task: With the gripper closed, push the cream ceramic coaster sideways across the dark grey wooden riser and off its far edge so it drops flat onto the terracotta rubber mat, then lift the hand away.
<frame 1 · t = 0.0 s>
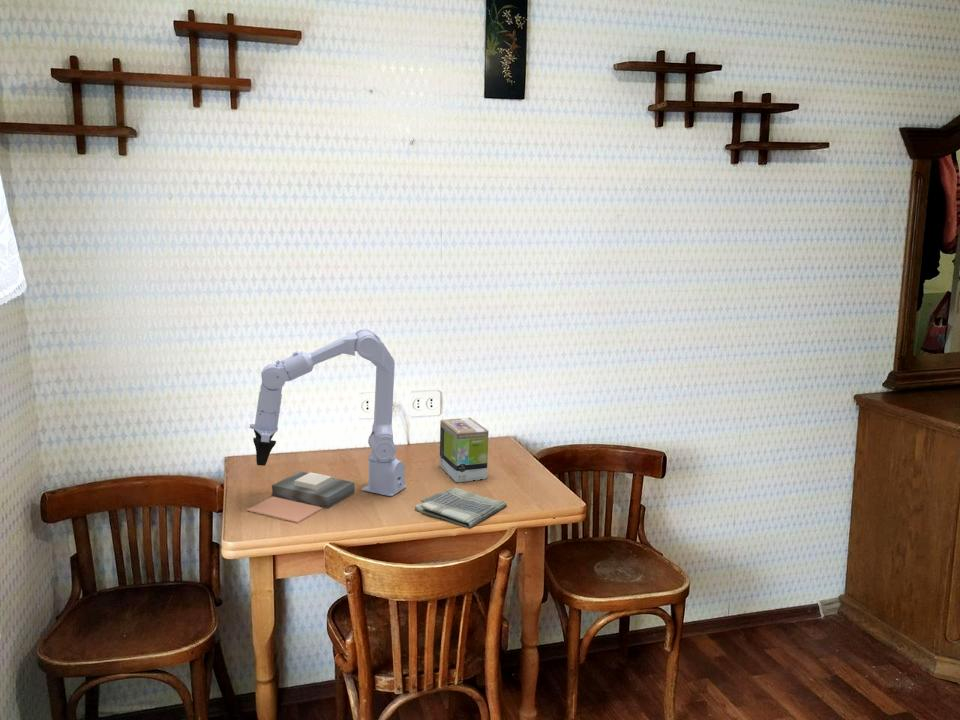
hand: (261, 460, 201), 11 cm above the table, tool pointing down, fingers open, 7 cm apart
riser: (313, 494, 207), on the table
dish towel: (460, 511, 200), on the table
mat: (284, 510, 196), on the table
tea box: (462, 473, 226), on the table
coaster: (313, 483, 206), point 3 cm above the table, touching riser
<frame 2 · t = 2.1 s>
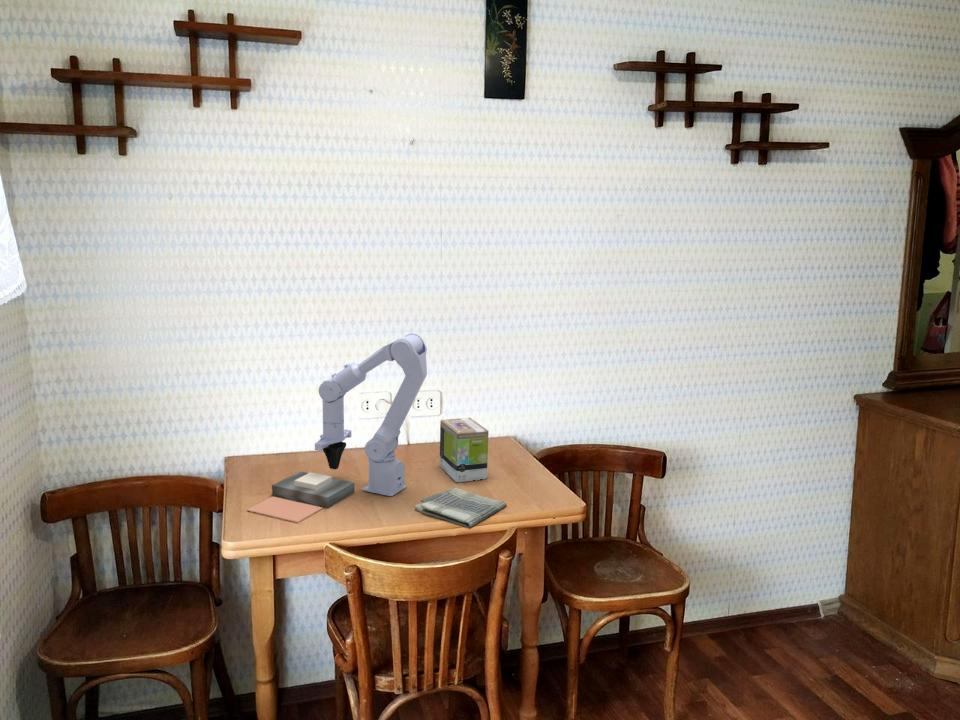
hand: (333, 468, 214), 4 cm above the table, tool pointing down, fingers closed
nothing on the table moved.
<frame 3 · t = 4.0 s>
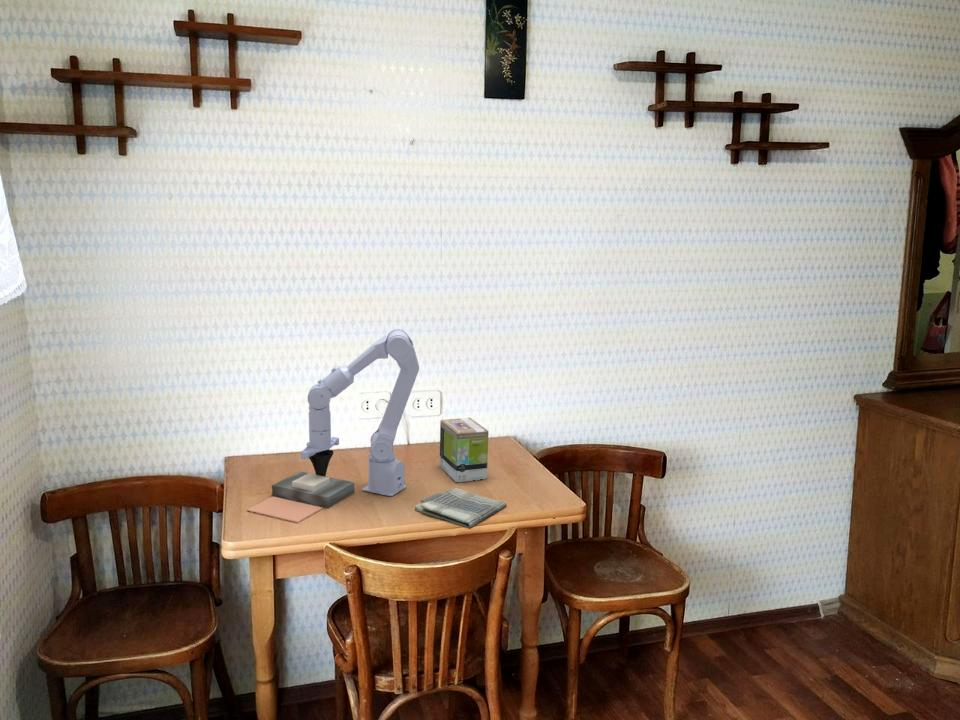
hand: (320, 476, 209), 4 cm above the table, tool pointing down, fingers closed
coaster: (311, 484, 205), point 3 cm above the table, touching gripper, riser
everything else where it was.
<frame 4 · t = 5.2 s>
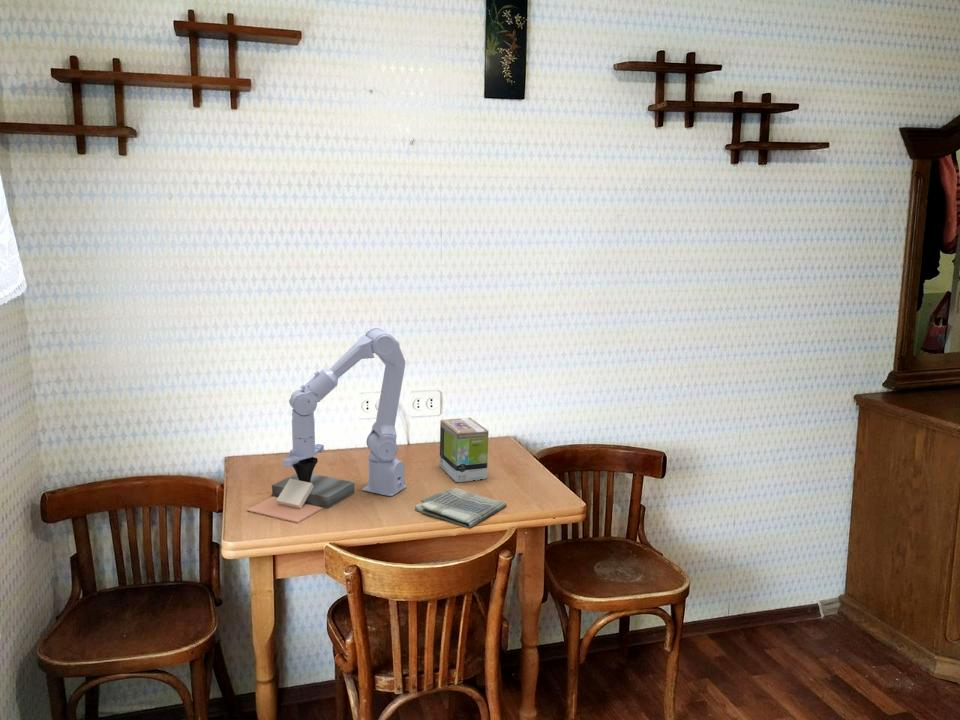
hand: (304, 485, 203), 4 cm above the table, tool pointing down, fingers closed
coaster: (296, 495, 200), point 2 cm above the table, tilted 35°, touching gripper
everything else where it was.
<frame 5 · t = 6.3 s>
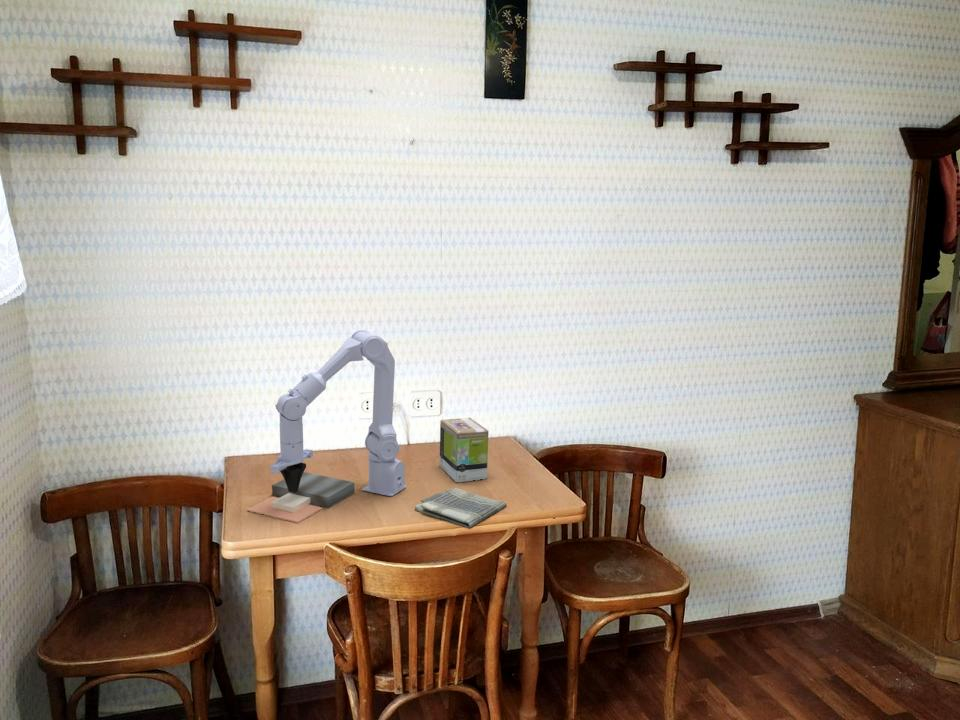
hand: (293, 491, 198), 4 cm above the table, tool pointing down, fingers closed
coaster: (291, 505, 198), resting on mat
everything else where it was.
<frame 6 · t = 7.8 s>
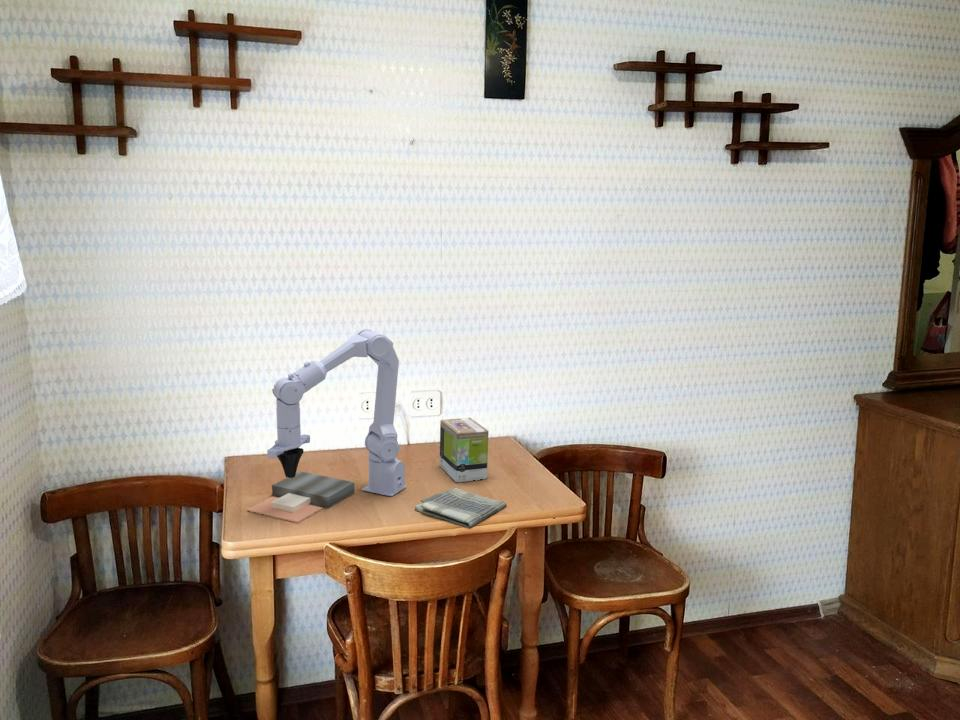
hand: (290, 476, 197), 8 cm above the table, tool pointing down, fingers closed
nothing on the table moved.
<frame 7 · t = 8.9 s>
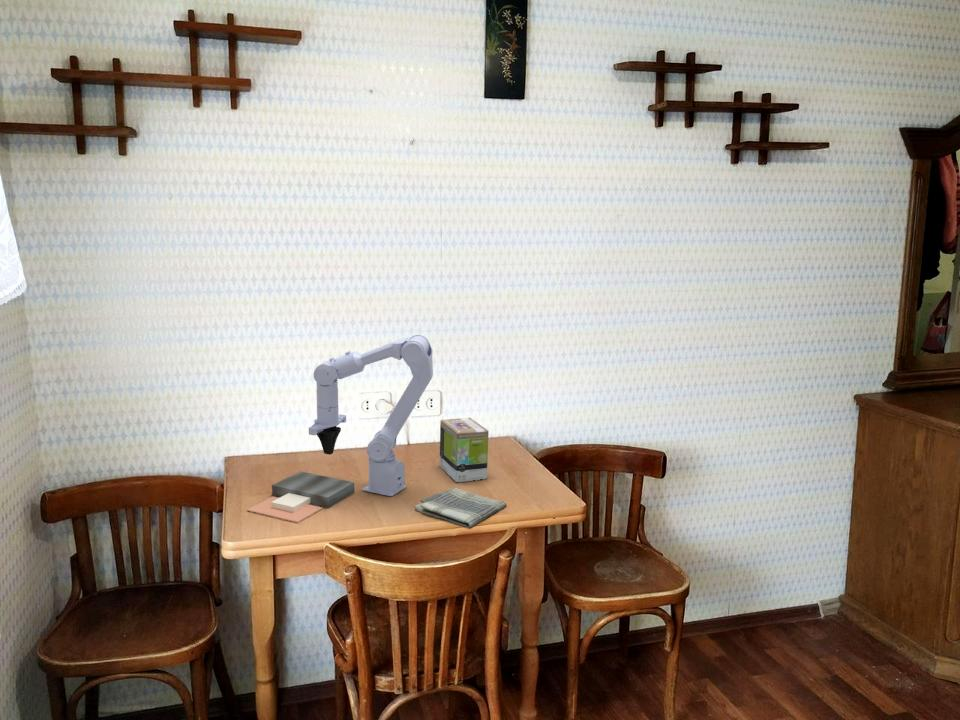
hand: (328, 453, 211), 9 cm above the table, tool pointing down, fingers closed
nothing on the table moved.
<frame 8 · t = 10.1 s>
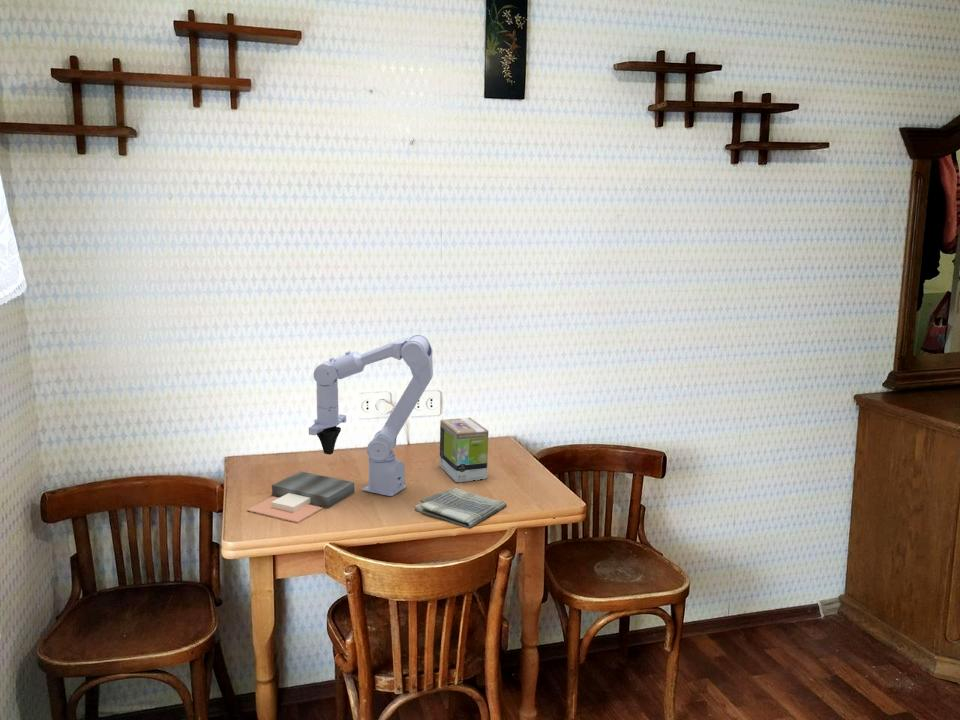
hand: (328, 453, 211), 9 cm above the table, tool pointing down, fingers closed
nothing on the table moved.
at the end: coaster inside the target area (2.7 cm from its centre), resting on mat; coaster resting on mat; coaster tilted 0° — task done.
